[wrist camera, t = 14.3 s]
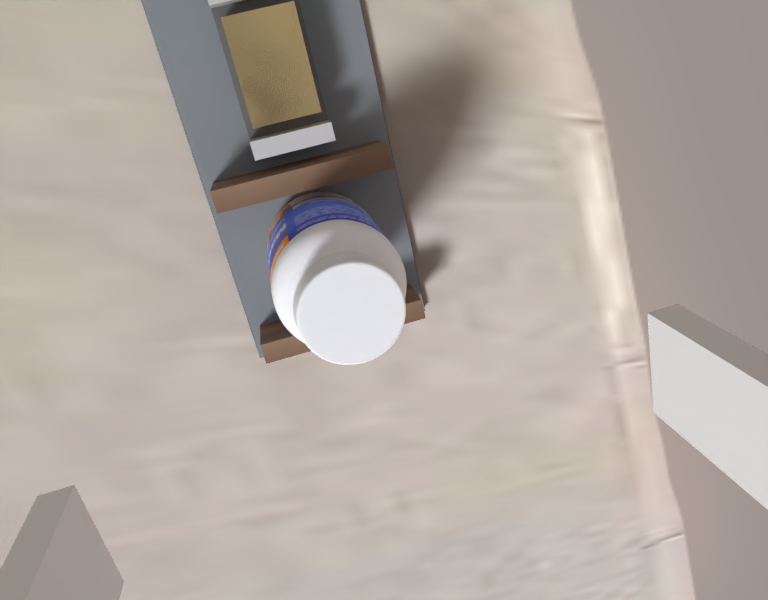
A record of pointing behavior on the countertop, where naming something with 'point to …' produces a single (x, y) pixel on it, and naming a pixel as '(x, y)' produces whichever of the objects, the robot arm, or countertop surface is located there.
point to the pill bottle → (336, 278)
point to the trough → (297, 180)
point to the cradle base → (282, 133)
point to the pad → (272, 64)
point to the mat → (235, 157)
